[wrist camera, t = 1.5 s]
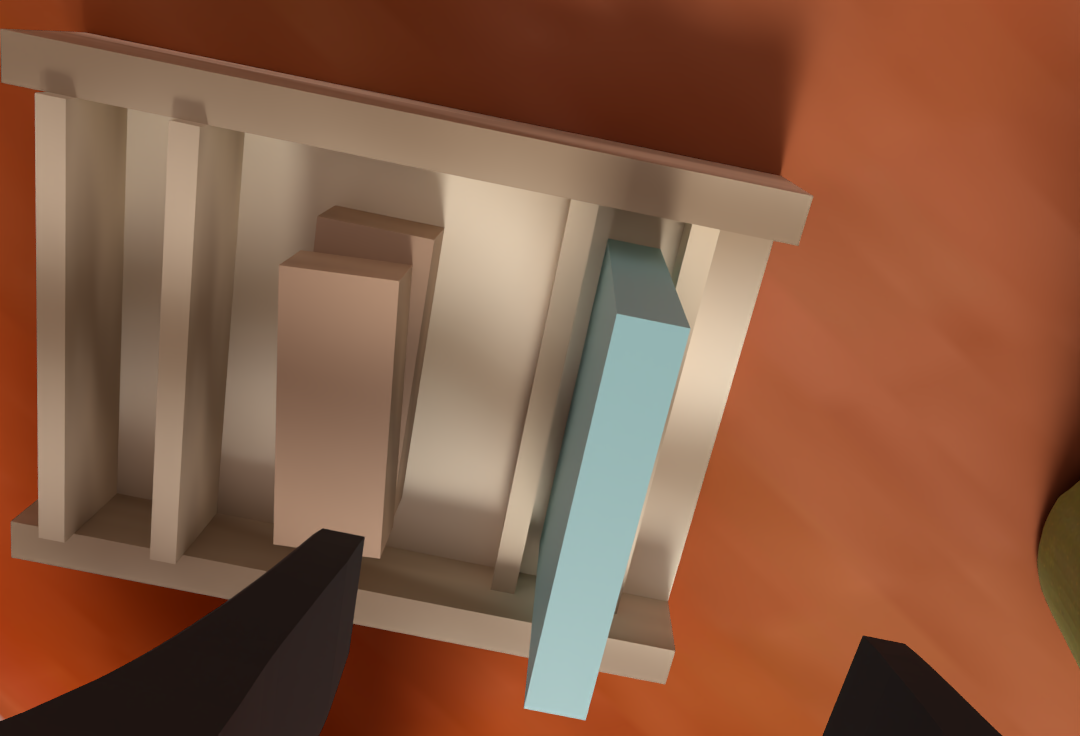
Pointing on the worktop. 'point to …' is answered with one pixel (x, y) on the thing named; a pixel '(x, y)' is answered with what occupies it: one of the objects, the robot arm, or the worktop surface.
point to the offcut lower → (421, 249)
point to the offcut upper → (339, 396)
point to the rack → (252, 324)
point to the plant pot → (1063, 566)
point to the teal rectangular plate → (603, 473)
